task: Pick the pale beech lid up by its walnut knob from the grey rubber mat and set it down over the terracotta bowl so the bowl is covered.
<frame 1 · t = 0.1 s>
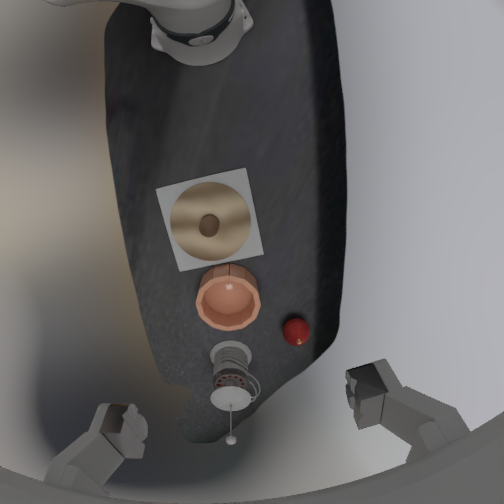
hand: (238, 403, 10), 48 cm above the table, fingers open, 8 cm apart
lid: (210, 222, 56), resting on mat
mat: (210, 221, 57), on the table
bowl: (228, 290, 62), on the table
french press: (234, 357, 69), on the table
pomegranate: (293, 321, 66), on the table
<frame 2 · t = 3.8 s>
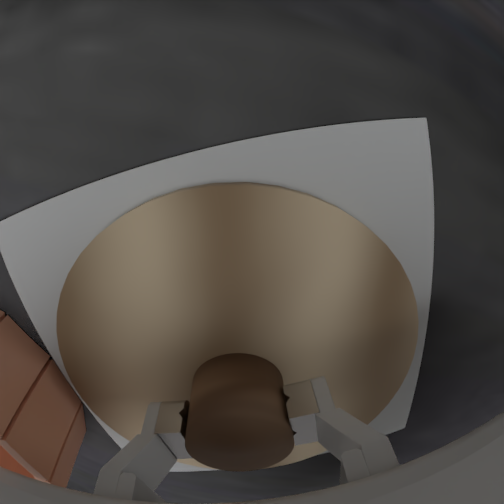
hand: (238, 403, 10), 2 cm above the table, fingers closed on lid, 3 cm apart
lid: (237, 372, 12), resting on mat, touching gripper
mat: (236, 366, 12), on the table
bowl: (4, 379, 12), on the table
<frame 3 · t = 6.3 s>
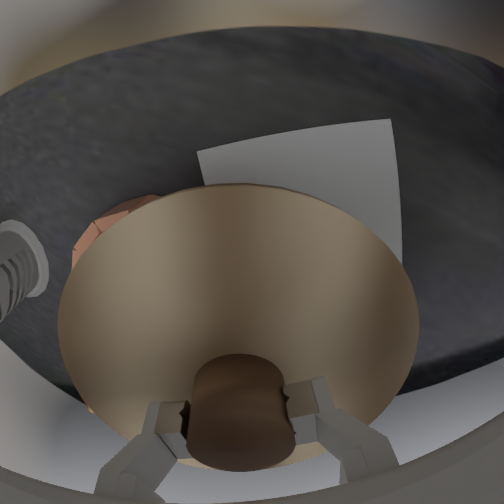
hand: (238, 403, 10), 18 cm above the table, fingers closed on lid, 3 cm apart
lid: (238, 373, 12), point 16 cm above the table, touching gripper
mat: (314, 225, 27), on the table
bowl: (154, 259, 28), on the table
french press: (18, 265, 28), on the table
when the fingers open (8 cm above the table, at t = 8.8 s): lid drops 1 cm, resting on bowl.
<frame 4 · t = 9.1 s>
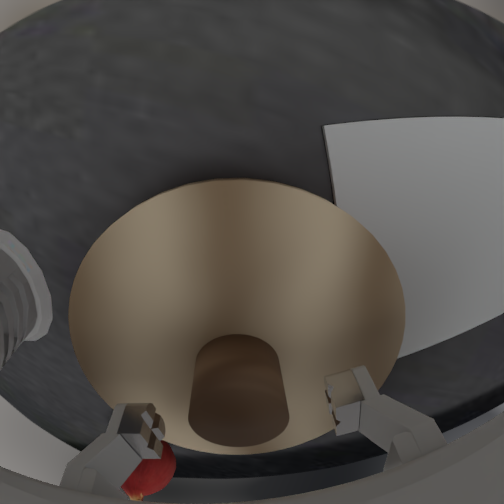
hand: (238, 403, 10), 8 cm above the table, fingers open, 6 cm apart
lid: (237, 354, 13), point 5 cm above the table, touching bowl
mat: (451, 242, 18), on the table
french press: (6, 296, 18), on the table
pomegranate: (148, 426, 23), on the table
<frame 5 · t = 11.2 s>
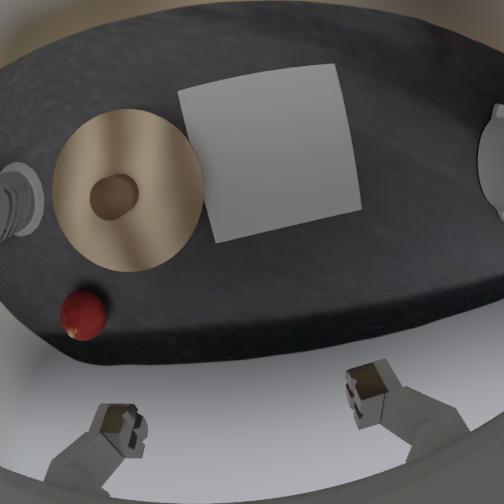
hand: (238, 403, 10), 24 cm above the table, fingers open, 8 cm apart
lid: (123, 191, 25), point 5 cm above the table, touching bowl
mat: (275, 148, 31), on the table
french press: (16, 205, 30), on the table
pomegranate: (94, 299, 35), on the table
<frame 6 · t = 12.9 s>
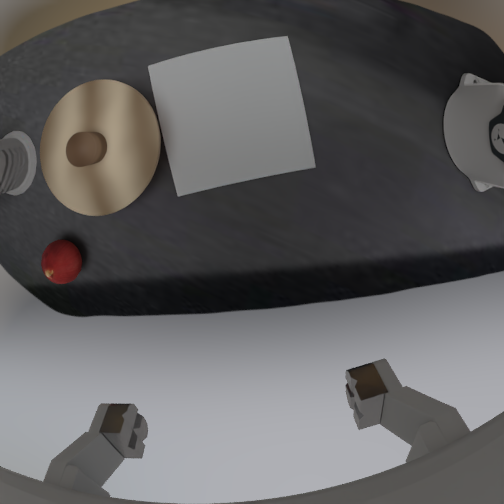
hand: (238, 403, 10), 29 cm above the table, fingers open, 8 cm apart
lid: (96, 147, 28), point 5 cm above the table, touching bowl
mat: (231, 111, 33), on the table
french press: (13, 168, 33), on the table
pomegranate: (74, 251, 38), on the table
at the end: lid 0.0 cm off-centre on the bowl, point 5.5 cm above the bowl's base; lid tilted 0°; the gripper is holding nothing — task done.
